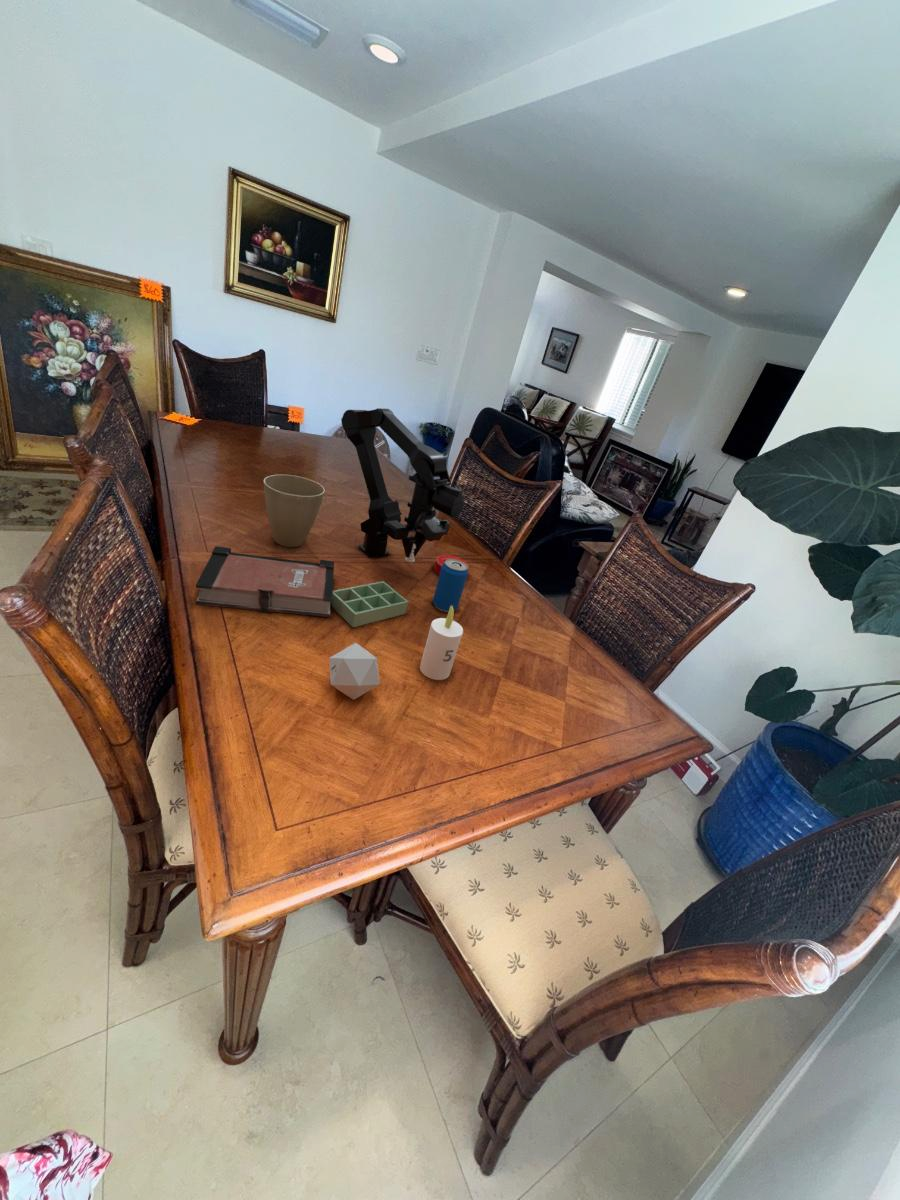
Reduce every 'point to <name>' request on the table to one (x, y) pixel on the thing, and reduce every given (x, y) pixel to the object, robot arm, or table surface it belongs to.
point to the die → (354, 671)
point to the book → (266, 583)
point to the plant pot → (291, 507)
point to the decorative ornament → (441, 561)
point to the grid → (368, 603)
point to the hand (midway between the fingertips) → (410, 556)
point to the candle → (441, 647)
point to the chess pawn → (411, 555)
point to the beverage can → (450, 585)
